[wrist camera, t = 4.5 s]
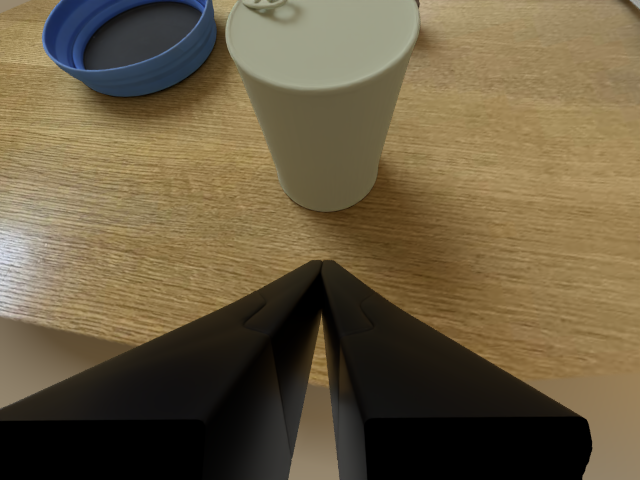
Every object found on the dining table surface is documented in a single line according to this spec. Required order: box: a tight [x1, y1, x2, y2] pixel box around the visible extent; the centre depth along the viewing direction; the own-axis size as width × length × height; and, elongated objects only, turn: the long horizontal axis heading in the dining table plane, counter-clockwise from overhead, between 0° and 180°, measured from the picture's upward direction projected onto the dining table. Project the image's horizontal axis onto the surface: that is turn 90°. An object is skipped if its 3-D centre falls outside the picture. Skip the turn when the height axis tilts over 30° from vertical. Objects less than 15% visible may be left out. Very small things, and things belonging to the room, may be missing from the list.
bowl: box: [42, 0, 217, 97], centre depth 27 cm, size 18×18×4 cm
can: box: [225, 0, 420, 212], centre depth 16 cm, size 9×9×12 cm
